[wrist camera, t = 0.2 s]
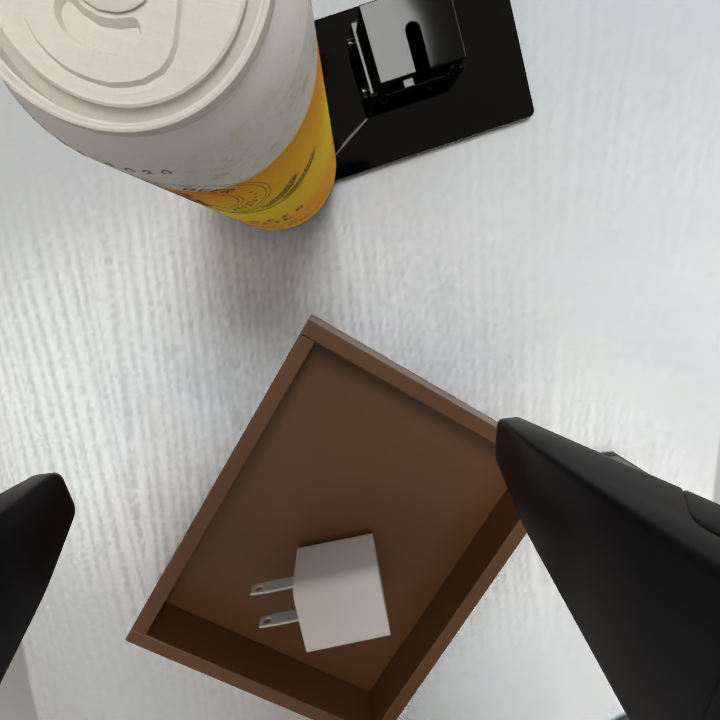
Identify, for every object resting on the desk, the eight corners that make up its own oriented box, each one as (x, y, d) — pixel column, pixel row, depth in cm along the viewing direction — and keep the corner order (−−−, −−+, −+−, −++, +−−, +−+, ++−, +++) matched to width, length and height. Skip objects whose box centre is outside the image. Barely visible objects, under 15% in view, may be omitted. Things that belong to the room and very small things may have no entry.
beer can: (198, 206, 22) (-124, 78, 7) (232, 79, 21) (-67, -388, 6) (314, 248, 22) (237, 210, 8) (353, 126, 21) (353, -197, 6)
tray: (372, 700, 28) (377, 747, 25) (147, 600, 26) (124, 640, 23) (544, 448, 26) (570, 470, 23) (311, 314, 23) (308, 319, 20)
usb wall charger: (383, 587, 26) (391, 641, 22) (268, 610, 26) (257, 669, 22) (371, 527, 25) (378, 573, 21) (253, 551, 25) (239, 602, 21)
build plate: (300, 194, 22) (291, 172, 18) (249, 40, 21) (225, -26, 16) (532, 117, 22) (583, 76, 18) (497, -43, 21) (542, -133, 16)
